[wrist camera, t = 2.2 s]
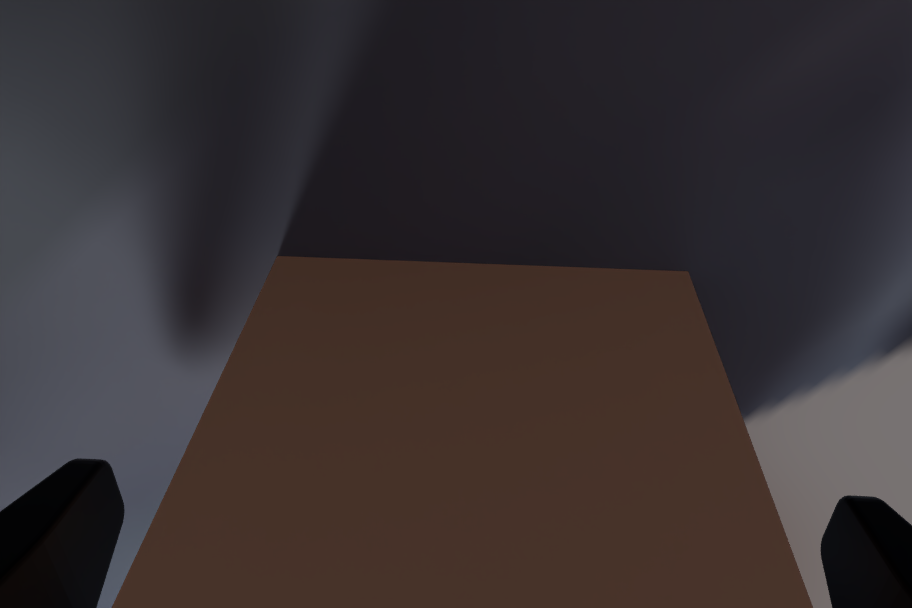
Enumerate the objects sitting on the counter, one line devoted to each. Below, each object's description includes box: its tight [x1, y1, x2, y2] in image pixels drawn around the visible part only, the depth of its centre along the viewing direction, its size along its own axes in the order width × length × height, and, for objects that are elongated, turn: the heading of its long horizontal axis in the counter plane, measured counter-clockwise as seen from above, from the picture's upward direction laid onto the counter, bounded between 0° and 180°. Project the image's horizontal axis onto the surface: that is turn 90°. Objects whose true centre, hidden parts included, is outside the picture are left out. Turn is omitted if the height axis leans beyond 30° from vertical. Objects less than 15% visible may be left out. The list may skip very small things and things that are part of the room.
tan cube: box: [112, 256, 813, 608], centre depth 9 cm, size 5×5×5 cm
